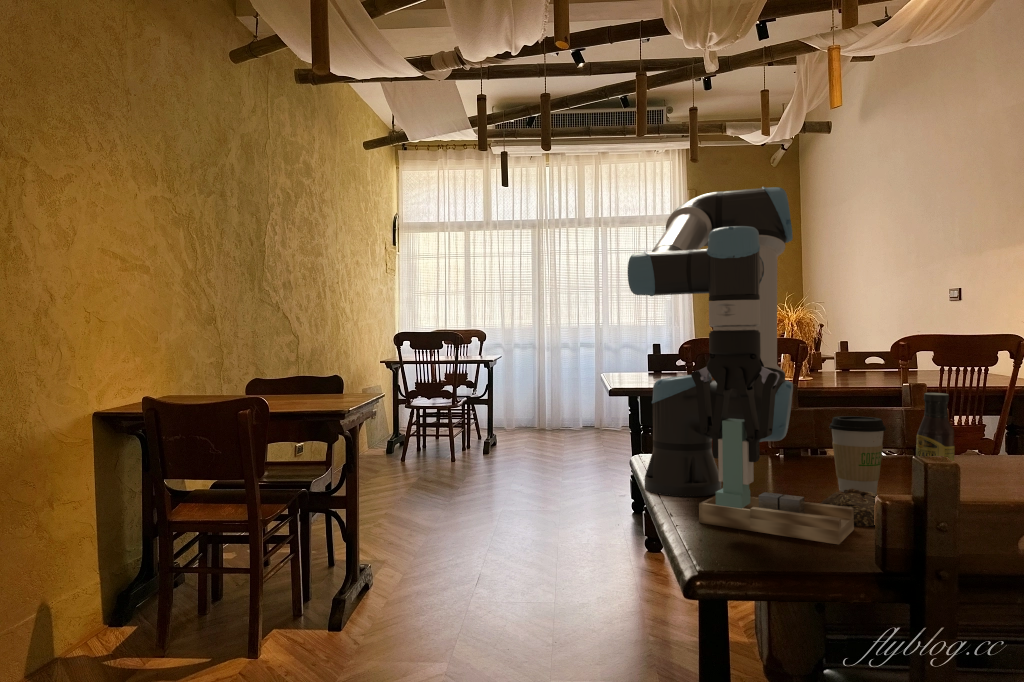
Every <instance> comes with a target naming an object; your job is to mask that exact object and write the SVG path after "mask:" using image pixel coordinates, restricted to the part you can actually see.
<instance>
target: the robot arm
mask: <svg viewBox="0 0 1024 682" xmlns="http://www.w3.org/2000/svg"><path fill="white" fill-rule="evenodd" d="M788 198H789V197H788V194H787V192H786V190H785V189H784V188H782V187H780V186H779V187H778V186H777V187H775V186H774V187H773V186H772V187H765V186H762V187H760V188H747V189H736V190H723V191H712V192H711V191H710V192H709V193H704V194H701V195H698V196H695V197H692V198H691V199H689V200H687V201H686V202H684V203H681V205H679V206H678V207H677V208H676V209H675V210H674V211H672V212H671V214H670V215H669V217H668V219H667V221H666V223H665V231H664V233H663V234H662V236H661V237H660V238H659V240H658V242H657V243H656V244H655V246H654V247H653V249H652V250H651V251H647V250H646V251H643V252H637V253H632V254H631V256H630V257H629V259H628V263H627V281H628V283H627V284H628V287H629V290H630V292H631V293H632V294H633V295H636V296H650V297H653V296H668V295H669V296H673V295H675V296H677V295H696V294H700V295H701V294H702V295H703V294H708V326H709V327H710V328H712V330H710V331H709V333H708V342H709V343H708V349H709V350H708V353H709V359H708V361H707V363H706V366H705V367H703V368H701V369H698V370H693V371H691V374H686V375H680V376H679V375H678V376H671V377H665V378H660V379H658V380H656V381H655V382H654V384H653V387H652V400H651V404H652V452H651V457H650V459H649V463H648V465H647V469H646V471H645V475H644V489H645V490H646V491H648V492H651V493H653V494H658V495H665V496H671V497H688V498H689V497H691V498H692V497H694V498H695V497H706V496H715V495H716V492H717V491H718V490H720V489H722V483H723V442H722V421H723V420H726V419H744V421H745V427H746V434H747V438H746V440H744V441H742V458H743V484H745V485H748V484H749V485H750V484H751V483H754V463H757V462H759V460H760V455H761V453H760V443H762V442H778V441H782V440H783V439H784V438H785V437H786V436H787V433H788V429H789V424H790V419H791V418H790V417H791V411H792V403H793V392H794V383H793V382H792V381H790V380H787V379H786V372H785V371H784V370H783V369H782V368H781V367H780V366H779V365H778V257H779V256H781V255H782V254H783V253H784V252H785V249H786V243H790V242H792V241H793V238H794V237H793V236H794V235H793V226H792V220H791V211H790V204H789V199H788ZM703 247H707V248H703ZM701 248H702V249H701ZM715 459H717V460H718V463H717V464H718V466H717V464H716V460H715Z"/></svg>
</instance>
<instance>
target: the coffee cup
mask: <svg viewBox="0 0 1024 682" xmlns="http://www.w3.org/2000/svg"><path fill="white" fill-rule="evenodd" d="M883 421H884V420H883V419H882V418H879V417H871V416H857V415H855V416H854V415H851V416H849V415H847V416H846V415H845V416H844V415H843V416H841V415H840V416H833V417H832V420H831V423H829V426H828V428H829V429H831V435H832V442H831V443H832V450H833V457H834V465H835V473H836V478H837V483H838V489H839V490H838V491H842V492H844V490H847V489H856V490H859V491H864V492H872V493H874V494H878V493H877V492H878V491H877V490H878V484H879V483H878V482H879V480H880V473H881V466H882V465H881V464H882V456H883V450H884V449H883V447H884V444H883V440H884V432H885V431H887V427H886V425H884V422H883Z"/></svg>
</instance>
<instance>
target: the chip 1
mask: <svg viewBox="0 0 1024 682" xmlns="http://www.w3.org/2000/svg"><path fill="white" fill-rule="evenodd" d="M782 496H784V494H782V493H773V492H767V491H766V492H761V494H758V498H759V508H766V509H773V510H780V497H782Z"/></svg>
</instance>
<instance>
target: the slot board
mask: <svg viewBox="0 0 1024 682" xmlns="http://www.w3.org/2000/svg"><path fill="white" fill-rule="evenodd" d="M804 503H805V514H803V513H795V512H788V511H781V510H773V509H766V508H759V496H758V497H757V496H750V504H748V505H747V506H745V507H743V508H742V509H740V508H734V507H727V506H720V505H716V495H712V496H711V497H709V498H708V499H705V500H703V501H701V502H699V503H698V523H699V524H700V523H701V524H703V525H704V524H706V525H711V526H712V525H713V526H717V527H724V528H730V529H737V530H743V531H751V532H756V533H757V532H758V533H763V534H770V535H775V536H782V537H788V538H796V539H801V540H806V541H815V542H820V543H827V544H834V545H841V543H842V542H843V541H844V540H845V539H847V537H848V536H849V535H850V534H851V533H852V532H853V531H854V530H855V526H854V508H852V507H844V506H836V505H828V504H820V503H821V502H819V503H818V502H811V501H804Z"/></svg>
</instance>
